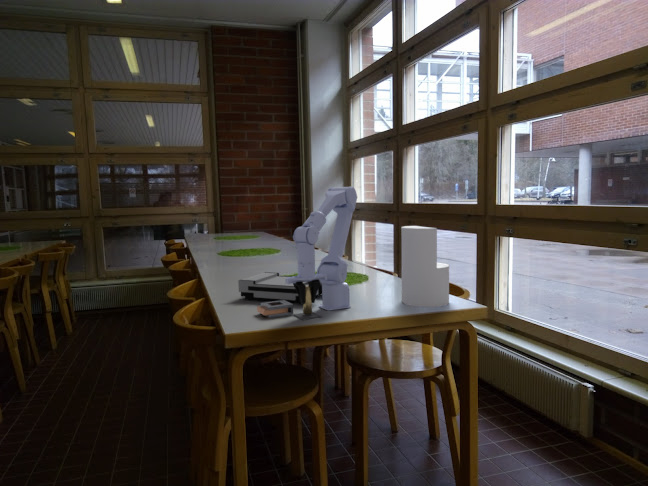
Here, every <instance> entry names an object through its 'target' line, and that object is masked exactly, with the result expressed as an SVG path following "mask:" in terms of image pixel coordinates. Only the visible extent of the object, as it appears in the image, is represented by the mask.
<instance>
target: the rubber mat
mask: <svg viewBox="0 0 648 486" xmlns="http://www.w3.org/2000/svg"><path fill="white" fill-rule="evenodd" d="M293 316H294V317H296V318H297V319H300V320H302V321H305V320H311V319H317V318H319V319H320V318H322V315H320V314H319V313H316V312H314V311H312V314H303V312H302V313H301V312H300V313H293Z"/></svg>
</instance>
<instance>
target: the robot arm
mask: <svg viewBox="0 0 648 486" xmlns="http://www.w3.org/2000/svg"><path fill="white" fill-rule="evenodd" d="M357 201H358V194H357V191H356V189H355V187H354V186H352V185H351V186H340V187H339V186H338V187H335V186H331V187H329V188H328V189H327V190H326V192H325V199H324V200H323V201H322V203H321V205H320V206H319V208H318V209H317V211H315V210H314V211H311V212H310V214H309V217H308V218H307V219H306V220H305V221H304V223H303V224H302V225H301V226H298V227H296V229H295V230H294V232H293V235H292V239H293V241H294V243H295V248H296V253H297V256H296V257H297V259H296V260H297V275H294V276H293V275H292V276H293V277H288V278H285V283H286V284H292V283H293V285H294V287H295V289H296V291H297V293H298V296H299V300H300V304H299V305H301V304H302V305H303V304H305V287H306V285H304V283H303V282H308V285H309V286H311V290H312V304H315V300H316V298H317V297H316V294H317V291H318V289H319V287H320V285H321V283H322V295H321V296H322V297H321V298H322V300H321V301H322V304H318V305H317V307H319V308H321V309H324V310H326V311H336V310H341V309H343V310H344V309H349V308H351V307H352V306H351V304H350V303H351V302H350V286H349V284H348V283H347V282H345V281H346V280H347V277H348V271H347V270H348V263H347V262H346V260H344V259H345V258H343V257H344V254H345V253H344V252H345V248H346V244H347V239H348V236H349V231H350V227H351V224H352V217H353V215H354V212H355V208H356V205H357ZM332 211H333V212H335V213H336V214H337V215H336V216H337V217H336V219H335V224H334V228H333V233H332V237H331V241H330V246H329V250H328V254H327V255H326V256H325V257H323V258H322V259H321V261H320V263H319V265H318V266H317V268H316V257H315V256H316V255H315V253H316V252H315V244H316V243H317V242H318V240H319V235H320V231H321V230H322V228H323V227H324V226H325V225H326V223H327V216H328V215H329V214H330V213H331V212H332ZM319 280H320V282H319Z"/></svg>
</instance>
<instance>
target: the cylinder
mask: <svg viewBox="0 0 648 486" xmlns="http://www.w3.org/2000/svg"><path fill="white" fill-rule="evenodd" d="M400 230H401V232H400V233H401V236H400V237H401V303H403V304H405V305H407V306H410V307H411V306H412V307H419V308H420V307H421V308H436V307H443V306H447V305H448V304H450V265H449V264H448V263H444V262H438V260H437V259H438V257H437V256H438V250H437V249H438V243H437V242H438V239H437V238H438V228H437V227H429V226H428V227H427V226H420V225H405V226H401V228H400Z"/></svg>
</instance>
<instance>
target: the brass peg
mask: <svg viewBox="0 0 648 486" xmlns="http://www.w3.org/2000/svg"><path fill="white" fill-rule="evenodd" d="M312 312H313V303H312V290H311V286H306V287H305V304H302V313H303V314H312Z"/></svg>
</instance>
